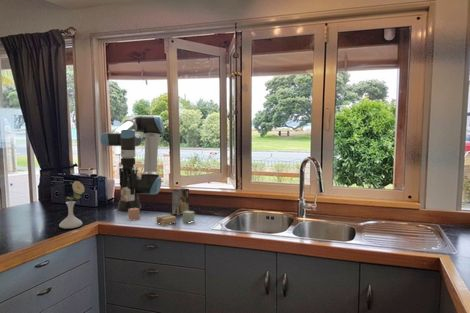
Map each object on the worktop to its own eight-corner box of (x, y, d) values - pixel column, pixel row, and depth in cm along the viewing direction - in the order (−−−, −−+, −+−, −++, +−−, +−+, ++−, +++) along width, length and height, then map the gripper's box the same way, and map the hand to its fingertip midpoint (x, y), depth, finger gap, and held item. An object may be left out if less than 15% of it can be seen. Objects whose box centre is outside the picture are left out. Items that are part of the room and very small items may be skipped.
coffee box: (182, 211, 215) (182, 187, 214) (189, 213, 211) (189, 188, 210) (171, 214, 208) (171, 189, 207) (178, 215, 204) (178, 190, 203)
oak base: (156, 223, 187) (156, 216, 186) (168, 220, 192) (168, 214, 192) (164, 226, 181) (164, 219, 181) (176, 223, 187) (176, 216, 187)
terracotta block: (128, 218, 195) (128, 208, 195) (135, 217, 198) (135, 207, 198) (131, 220, 191) (131, 210, 191) (139, 218, 195) (139, 209, 194)
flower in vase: (65, 231, 167) (64, 183, 165) (55, 227, 173) (54, 181, 172) (89, 226, 177) (89, 181, 175) (79, 222, 184) (78, 179, 182)
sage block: (182, 222, 189) (182, 212, 188) (186, 220, 193) (186, 210, 193) (190, 223, 187) (190, 213, 186) (194, 221, 191) (194, 211, 191)
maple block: (121, 200, 178) (121, 189, 178) (129, 199, 182) (129, 188, 182) (126, 201, 175) (126, 190, 175) (134, 200, 179) (134, 189, 179)
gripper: (112, 157, 180) (112, 198, 181) (132, 158, 169) (132, 202, 170) (124, 156, 186) (124, 196, 187) (144, 158, 175) (144, 200, 176)
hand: (128, 199), depth 179 cm, fingers closed on maple block, 5 cm apart
